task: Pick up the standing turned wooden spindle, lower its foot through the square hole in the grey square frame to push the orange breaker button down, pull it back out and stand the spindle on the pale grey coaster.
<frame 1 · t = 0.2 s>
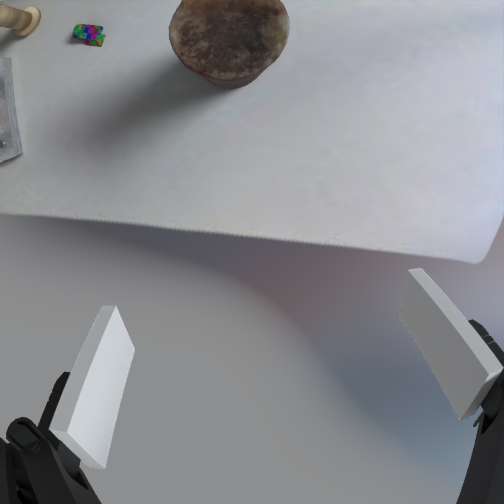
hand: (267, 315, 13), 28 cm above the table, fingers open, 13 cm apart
turned wooden spindle: (28, 21, 25), on the table
puzzle cube: (92, 33, 28), on the table
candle: (230, 61, 32), on the table
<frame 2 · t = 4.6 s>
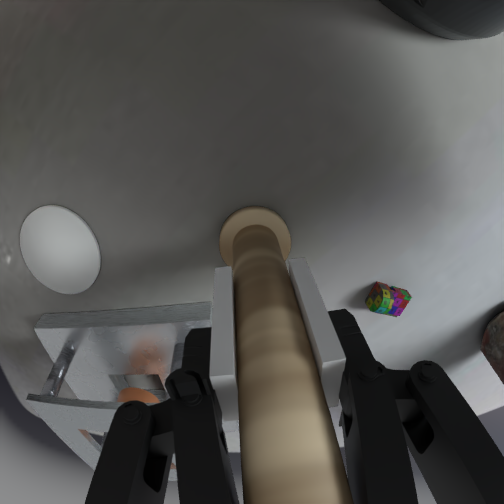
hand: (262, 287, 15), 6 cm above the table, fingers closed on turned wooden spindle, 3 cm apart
turned wooden spindle: (254, 238, 20), on the table, touching gripper
grey square frame: (144, 374, 26), on the table
breaker button: (135, 419, 21), point 5 cm above the table, slide at 0.0 cm
puzzle cube: (383, 289, 24), on the table
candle: (496, 323, 27), on the table
coaster: (58, 250, 20), on the table
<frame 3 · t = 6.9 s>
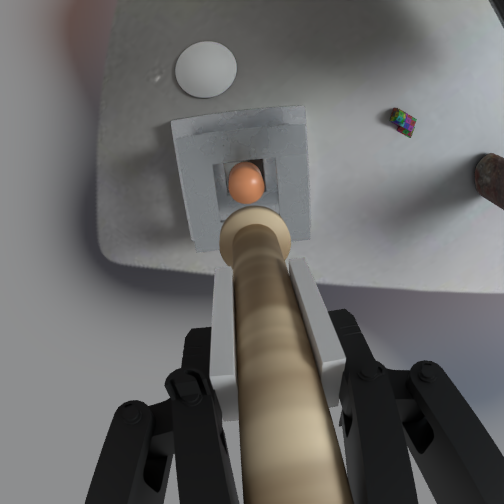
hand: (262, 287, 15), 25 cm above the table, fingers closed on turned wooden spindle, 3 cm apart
turned wooden spindle: (254, 238, 20), point 19 cm above the table, touching gripper
grey square frame: (244, 171, 37), on the table
breaker button: (245, 181, 33), point 5 cm above the table, slide at 0.0 cm
puzzle cube: (398, 118, 35), on the table
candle: (484, 173, 39), on the table
coaster: (206, 69, 31), on the table
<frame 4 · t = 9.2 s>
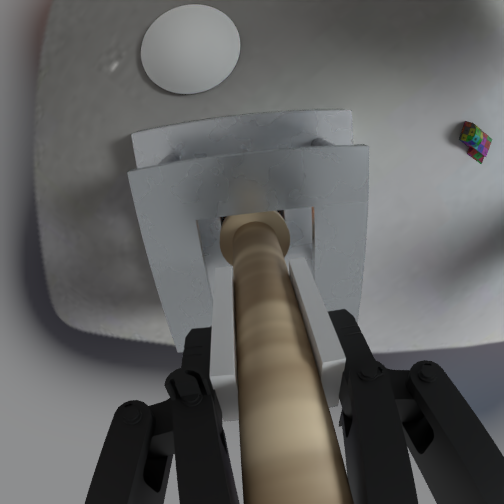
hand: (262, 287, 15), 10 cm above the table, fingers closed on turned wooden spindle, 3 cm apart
turned wooden spindle: (253, 235, 20), point 4 cm above the table, touching breaker button, gripper
grey square frame: (251, 211, 24), on the table
puzzle cube: (468, 136, 23), on the table
coaster: (190, 48, 18), on the table
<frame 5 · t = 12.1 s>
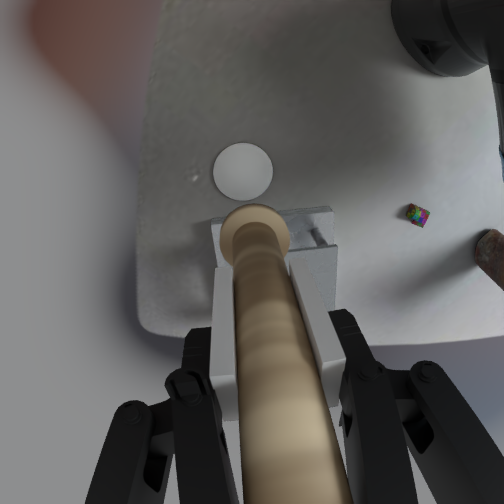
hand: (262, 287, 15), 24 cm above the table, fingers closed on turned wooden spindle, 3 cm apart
turned wooden spindle: (253, 235, 21), point 18 cm above the table, touching gripper
grey square frame: (275, 264, 43), on the table
puzzle cube: (414, 210, 41), on the table
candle: (484, 245, 44), on the table
coaster: (243, 171, 37), on the table
when the fingers open (7 cm above the table, at t = 14.8 s): turned wooden spindle stays where it is, resting on coaster.
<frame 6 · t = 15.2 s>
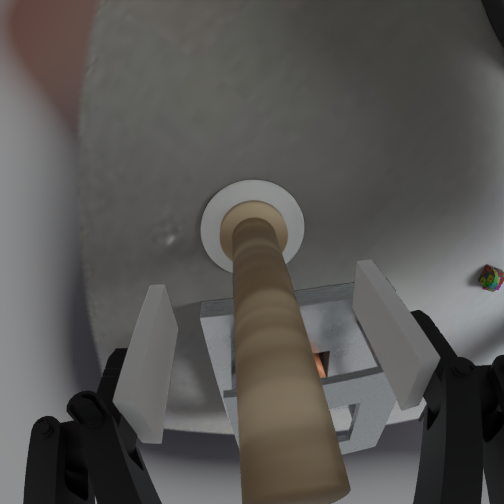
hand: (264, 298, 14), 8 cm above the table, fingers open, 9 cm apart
turned wooden spindle: (252, 231, 21), resting on coaster
grey square frame: (298, 356, 28), on the table
breaker button: (303, 375, 25), point 2 cm above the table, slide at 2.6 cm
puzzle cube: (486, 270, 26), on the table
coaster: (252, 229, 22), on the table
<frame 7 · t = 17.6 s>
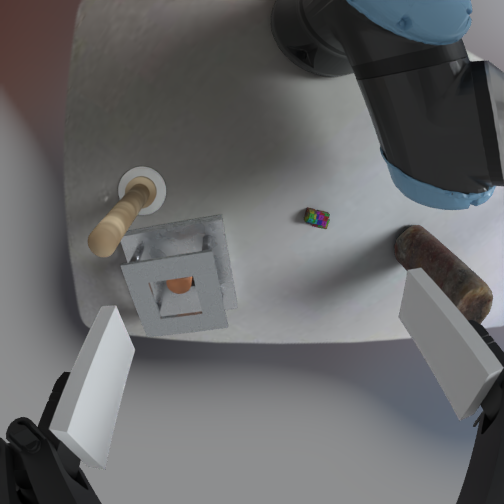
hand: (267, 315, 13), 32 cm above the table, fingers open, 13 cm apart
turned wooden spindle: (141, 191, 41), resting on coaster
grey square frame: (181, 268, 48), on the table
breaker button: (180, 276, 46), point 2 cm above the table, slide at 2.6 cm
puzzle cube: (314, 213, 47), on the table
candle: (407, 242, 50), on the table
coaster: (142, 190, 42), on the table
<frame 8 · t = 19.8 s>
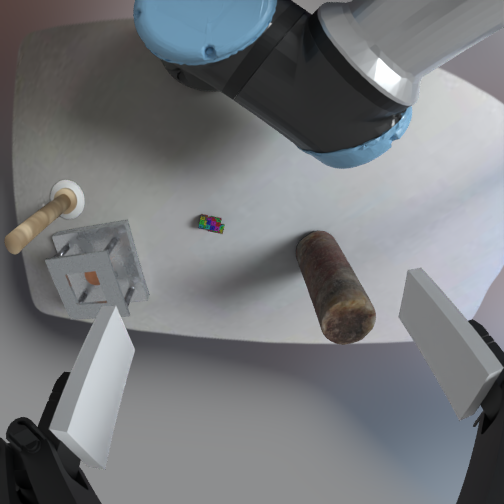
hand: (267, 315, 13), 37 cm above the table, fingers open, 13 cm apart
turned wooden spindle: (66, 199, 46), resting on coaster
grey square frame: (101, 263, 52), on the table
breaker button: (97, 270, 50), point 2 cm above the table, slide at 2.6 cm
puzzle cube: (210, 219, 51), on the table
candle: (314, 248, 54), on the table
coaster: (67, 199, 46), on the table
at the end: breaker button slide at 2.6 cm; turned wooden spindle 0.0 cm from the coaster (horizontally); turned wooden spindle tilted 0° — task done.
